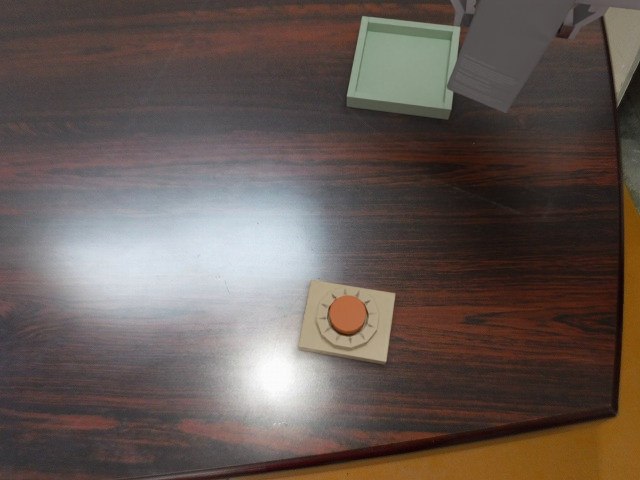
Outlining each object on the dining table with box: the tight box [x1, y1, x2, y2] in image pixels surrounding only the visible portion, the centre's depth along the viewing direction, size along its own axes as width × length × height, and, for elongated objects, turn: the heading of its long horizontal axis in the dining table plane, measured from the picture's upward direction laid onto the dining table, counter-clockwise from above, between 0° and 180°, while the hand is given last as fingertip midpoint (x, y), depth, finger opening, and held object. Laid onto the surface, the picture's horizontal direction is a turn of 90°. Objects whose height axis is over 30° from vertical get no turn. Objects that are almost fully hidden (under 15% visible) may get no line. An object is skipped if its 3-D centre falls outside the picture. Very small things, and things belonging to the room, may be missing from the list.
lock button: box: [330, 295, 366, 334], centre depth 59 cm, size 4×4×2 cm
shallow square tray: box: [346, 15, 461, 120], centre depth 75 cm, size 14×14×2 cm
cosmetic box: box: [447, 0, 576, 114], centre depth 44 cm, size 8×7×16 cm
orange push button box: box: [297, 279, 396, 366], centre depth 61 cm, size 10×8×4 cm
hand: (513, 26), depth 46 cm, fingers closed on cosmetic box, 7 cm apart
